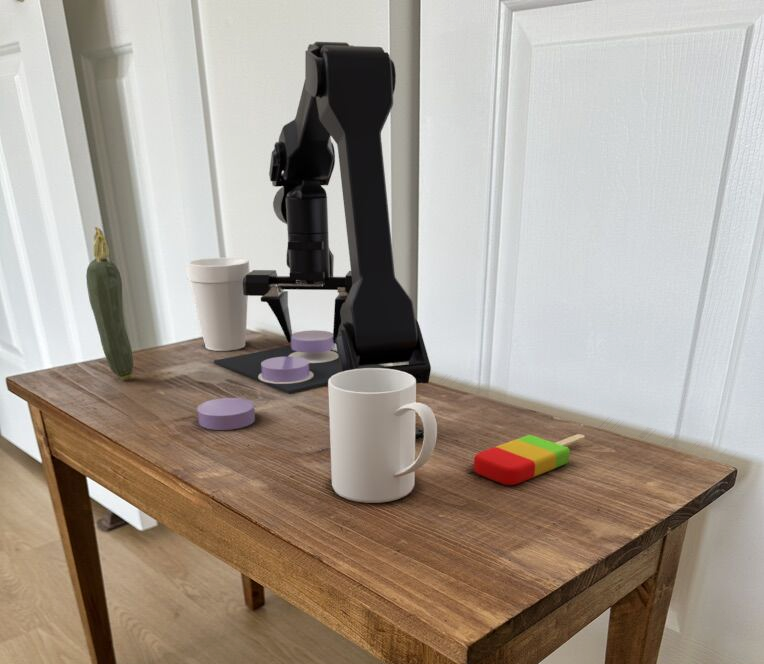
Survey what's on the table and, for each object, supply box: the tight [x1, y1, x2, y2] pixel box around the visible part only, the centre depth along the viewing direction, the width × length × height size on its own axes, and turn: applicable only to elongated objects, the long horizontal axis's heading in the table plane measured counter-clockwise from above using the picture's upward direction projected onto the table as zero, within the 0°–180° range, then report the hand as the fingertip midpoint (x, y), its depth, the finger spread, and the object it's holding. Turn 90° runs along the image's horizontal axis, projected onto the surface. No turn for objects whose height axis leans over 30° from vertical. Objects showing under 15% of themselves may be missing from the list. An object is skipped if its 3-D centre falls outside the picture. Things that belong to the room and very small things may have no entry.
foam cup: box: [185, 257, 251, 352], centre depth 119 cm, size 10×9×13 cm
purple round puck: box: [261, 357, 310, 382], centre depth 105 cm, size 7×7×2 cm
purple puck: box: [290, 329, 336, 353], centre depth 113 cm, size 7×7×2 cm
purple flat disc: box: [196, 397, 256, 431], centre depth 89 cm, size 7×7×2 cm
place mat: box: [213, 345, 386, 394], centre depth 111 cm, size 20×17×1 cm
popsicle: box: [473, 433, 586, 486], centre depth 78 cm, size 6×15×2 cm, turn 131°
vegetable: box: [85, 226, 134, 381], centre depth 100 cm, size 4×4×20 cm
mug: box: [327, 368, 438, 504], centre depth 69 cm, size 12×8×10 cm, turn 38°
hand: (313, 342), depth 113 cm, fingers closed on purple puck, 6 cm apart
